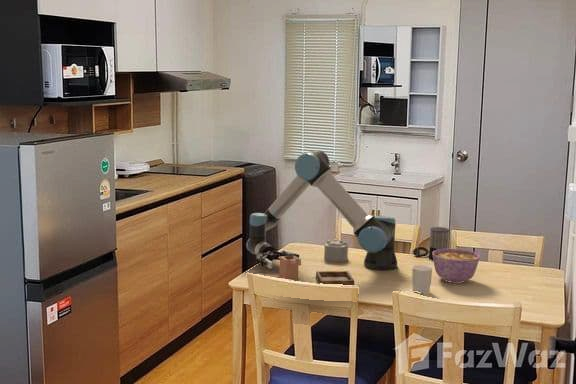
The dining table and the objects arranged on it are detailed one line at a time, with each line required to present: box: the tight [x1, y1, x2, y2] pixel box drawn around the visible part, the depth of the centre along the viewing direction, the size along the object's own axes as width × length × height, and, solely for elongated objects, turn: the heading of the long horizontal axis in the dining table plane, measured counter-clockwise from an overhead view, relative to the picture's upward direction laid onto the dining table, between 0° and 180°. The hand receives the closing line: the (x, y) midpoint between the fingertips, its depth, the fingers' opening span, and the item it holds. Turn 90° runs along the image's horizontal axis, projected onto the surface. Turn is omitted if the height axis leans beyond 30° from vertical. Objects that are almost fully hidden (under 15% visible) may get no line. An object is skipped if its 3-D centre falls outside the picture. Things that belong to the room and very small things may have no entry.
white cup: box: [411, 264, 433, 294], centre depth 291 cm, size 8×8×10 cm
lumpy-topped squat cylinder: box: [323, 238, 349, 263], centre depth 339 cm, size 10×13×9 cm
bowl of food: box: [432, 248, 481, 282], centre depth 308 cm, size 20×20×12 cm
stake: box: [285, 251, 294, 259], centre depth 305 cm, size 2×2×11 cm
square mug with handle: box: [278, 256, 299, 281], centre depth 305 cm, size 6×8×9 cm
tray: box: [315, 270, 355, 286], centre depth 303 cm, size 14×14×2 cm
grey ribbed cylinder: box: [412, 226, 450, 261], centre depth 344 cm, size 14×16×15 cm
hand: (285, 263), depth 307 cm, fingers open, 13 cm apart
